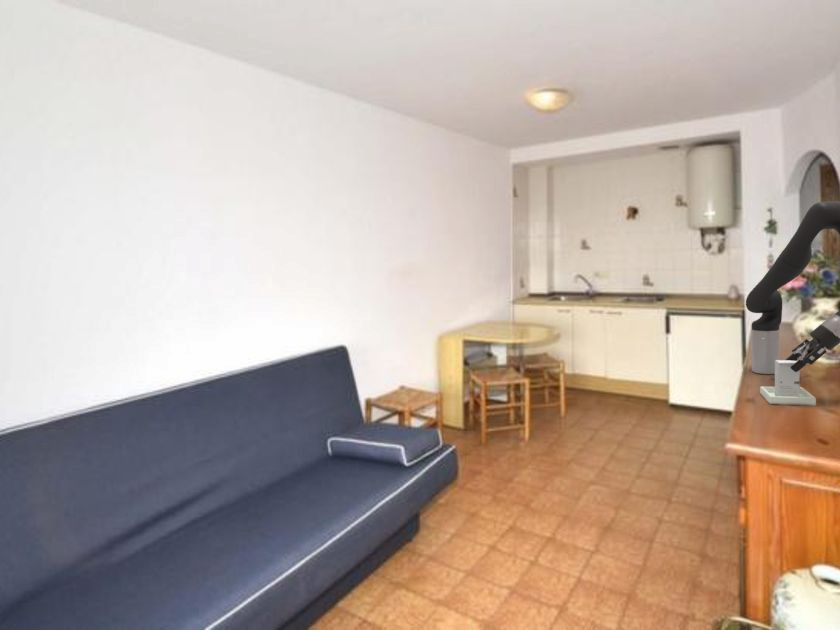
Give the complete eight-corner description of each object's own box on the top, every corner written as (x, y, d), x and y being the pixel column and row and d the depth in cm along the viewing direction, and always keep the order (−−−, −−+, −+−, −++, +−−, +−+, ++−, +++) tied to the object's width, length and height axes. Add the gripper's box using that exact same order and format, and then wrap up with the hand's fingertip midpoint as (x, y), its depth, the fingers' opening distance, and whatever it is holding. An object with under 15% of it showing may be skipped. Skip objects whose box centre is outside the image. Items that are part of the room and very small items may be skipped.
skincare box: (778, 398, 170) (777, 362, 169) (774, 395, 174) (773, 359, 173) (800, 399, 168) (800, 362, 167) (795, 395, 172) (795, 359, 171)
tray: (760, 393, 179) (760, 386, 179) (801, 394, 175) (801, 387, 175) (770, 404, 166) (770, 396, 166) (815, 405, 162) (815, 398, 162)
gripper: (814, 321, 171) (773, 355, 177) (830, 327, 158) (785, 363, 164) (834, 336, 170) (792, 370, 175) (851, 344, 157) (805, 380, 162)
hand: (789, 367), depth 169 cm, fingers open, 8 cm apart
